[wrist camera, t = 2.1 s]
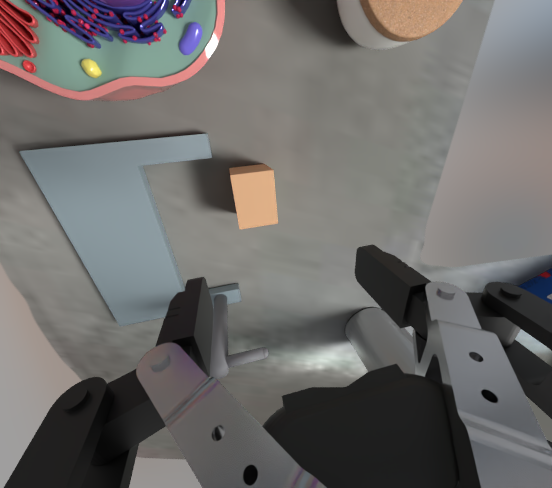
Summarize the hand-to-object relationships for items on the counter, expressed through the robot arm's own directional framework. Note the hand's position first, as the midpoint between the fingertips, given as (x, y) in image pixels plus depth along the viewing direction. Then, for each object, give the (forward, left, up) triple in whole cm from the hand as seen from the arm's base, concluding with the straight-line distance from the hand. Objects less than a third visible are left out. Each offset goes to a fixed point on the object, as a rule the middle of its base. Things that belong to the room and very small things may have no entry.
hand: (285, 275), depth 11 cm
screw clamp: (+11, +5, -20) cm, 24 cm away
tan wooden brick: (0, 0, -20) cm, 20 cm away
